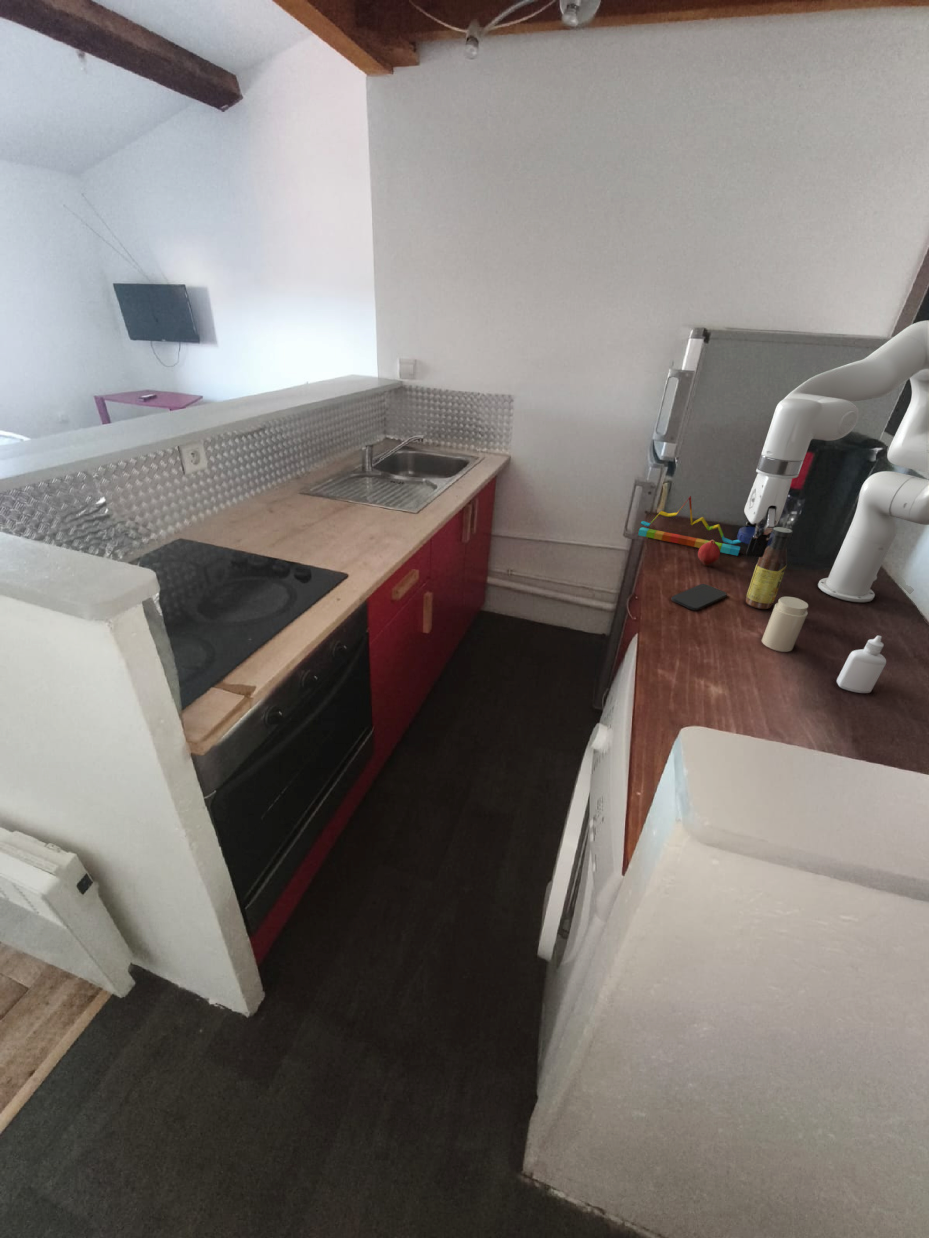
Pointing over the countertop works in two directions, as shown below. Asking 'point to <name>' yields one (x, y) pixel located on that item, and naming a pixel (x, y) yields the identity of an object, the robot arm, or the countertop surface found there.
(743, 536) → the jar lid
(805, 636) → the countertop surface
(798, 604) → the mayonnaise jar
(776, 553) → the sauce bottle
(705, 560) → the onion
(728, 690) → the countertop surface
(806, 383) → the robot arm
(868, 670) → the eye dropper bottle
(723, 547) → the chart
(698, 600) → the phone
